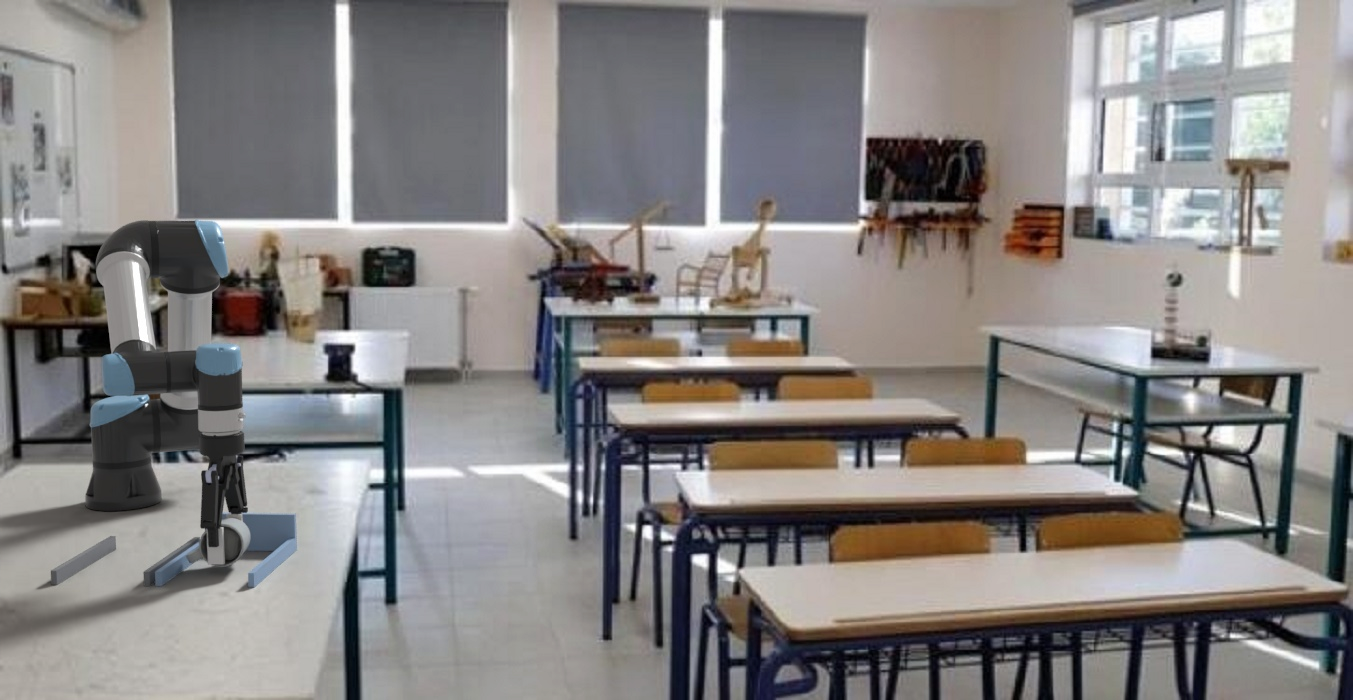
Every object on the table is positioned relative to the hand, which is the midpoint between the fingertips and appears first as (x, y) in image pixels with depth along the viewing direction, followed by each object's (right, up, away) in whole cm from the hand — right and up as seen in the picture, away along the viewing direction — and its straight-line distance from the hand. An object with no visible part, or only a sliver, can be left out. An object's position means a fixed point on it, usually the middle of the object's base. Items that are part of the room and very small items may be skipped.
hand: (226, 556), depth 225 cm
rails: (-18, -2, +2) cm, 18 cm away
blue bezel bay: (0, -2, +1) cm, 3 cm away
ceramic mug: (-1, -1, 0) cm, 2 cm away
